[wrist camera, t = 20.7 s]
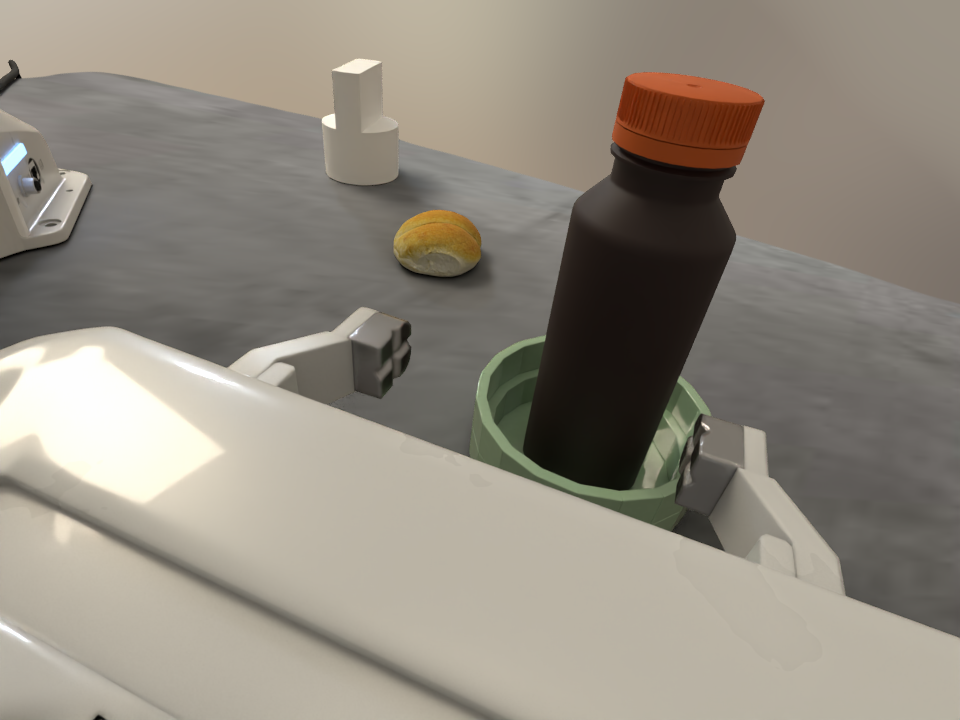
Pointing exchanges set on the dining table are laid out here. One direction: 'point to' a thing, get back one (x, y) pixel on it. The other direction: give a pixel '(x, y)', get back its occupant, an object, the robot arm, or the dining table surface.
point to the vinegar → (637, 276)
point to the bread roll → (438, 244)
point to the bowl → (501, 446)
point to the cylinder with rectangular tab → (360, 127)
